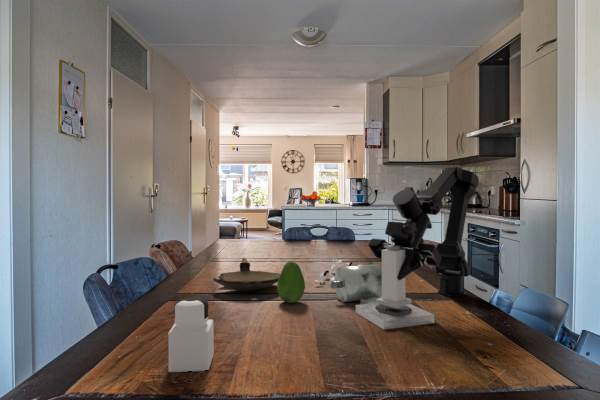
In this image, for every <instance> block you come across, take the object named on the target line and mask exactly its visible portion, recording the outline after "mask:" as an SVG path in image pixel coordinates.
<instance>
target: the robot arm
mask: <svg viewBox="0 0 600 400" xmlns="http://www.w3.org/2000/svg"><path fill="white" fill-rule="evenodd" d="M479 179H480V178H479V176H478V175H477V174H475V172H474V171H470V170H466V169H463V168H462V167H459V166H446V167H444V168H443V169H442V170H441V173H440V174H439V176H437V178H436V179H435V180H434V181H433V182H432V183H431V184H430V185H429V187H427V188H426V189H423V190H421V191H420V190H419V191H418V192H417V193H416V192H415V190H414V187H413V186H405V187H404V189H401V190H400V191H398V192H397V193H396V194H394V195H393V197H392V203H393V204H394V206H395V208H396V210H397V211H398V213H399V214H400V217H402V218H403V219H405V222H401V221H387V224H386V228H385V231H384V234H385V235H386V236H389V237H390V241H391V242H392V243H394V244H393V245H399V246H400V249H403V250H405V261H404V263H403V265H402V267H401V269H400V271H399V274H398V277H397V279H398V280H401V279H403V278H404V277H405V278H406V277H407V276H409V275H410V274H411V273H412V272H414V271H416V270H417V269H419V268H423V267H425V262H426V264H427V265H428V266H432V267H435V272H436V274H440V279H439V290H437V292H438V293H439V294H441V295H442V294H443V295H444V296H445V295H446V297H447V296H448V297H454V298H455V297H461V296H468V294H469V293H467V292H465V277H469V275H470V273H471V272H470V271H471V268H470V265H469V264H468V261H467V260H466V252H465V249H464V247H463V244H462V241H463V236H464V235H463V234H464V229H465V224H466V223H465V222H466V218H467V217H466V216H467V210H468V204H469V201H470V199H471V198H472V197H473V196H475V194H476V191H477V187H478V186H479V183H480V180H479ZM448 192H449V193H450V194H451V196H452V197H451V203H450V209H449V215H448V221H447V226H446V230H445V231H446V232H445V237H444V240H443V241H442V242H441V243H438V244H437V245H435V243H434V244H433V243H424V242H425V240H424V238H423V237H424V235H425V234H426V233H425V232H427V231H426V230H427V229H433V227H432V225H433V224H432V223H431V222H432V221H431V219H430V217H429V215H430V216H432V215H433V216H436V215H438V214H439V213H440V212H441V210H442V207H443V206H444V204H443V199H444V198H445V196H446V194H448ZM387 245H392V244H391V243H389V242H387V241H386V239H382V238H371V239H370V241H369V242H368V245H367V247H369V249H370V250H371V252H372V253H373V255H374V257H375V258H377V259H381V260H382V250H384V249H387Z"/></svg>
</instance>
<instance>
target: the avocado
mask: <svg viewBox="0 0 600 400" xmlns="http://www.w3.org/2000/svg"><path fill="white" fill-rule="evenodd" d="M280 271H281V272H280V273H279V274H280V276H279V279H278V282H277V285H276V286H277V287H276V291H277V295H278V296H279V298H280V299H281V300H282V301H283V302H284V303H287V304H294V303H297V302H299V300H300V299H302V297H303V295H304V293H305V289H306V284H305V278H304V274H303V272H302V269H301V268H300V266H299V265H298V263H296V262H294V261H291V260H290V261H287V262H286V263H285V264H284V265H283V267H282V269H281V270H280Z"/></svg>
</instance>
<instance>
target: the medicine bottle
mask: <svg viewBox="0 0 600 400" xmlns="http://www.w3.org/2000/svg"><path fill="white" fill-rule="evenodd" d="M173 307H174V310H173V311H174V314H173V315H174V318H173V319H174V323H173V325H172V326H171V328H170V330H169V331H168V333H167V371H168V373H184V372H185V373H186V372H188V371H192V372H206V371H205V370H208V371H209V370H210V368H211V364H212V361H213V357H214V354H215V349H214V348H215V347H214V346H215V345H214V344H215V343H214V342H215V340H214V335H215V334H214V332H215V330H214V328H215V327H214V326H215V325H214V319H209V301H208V300H207V299H206V298H203V297H199V296H190V297H184V298H181V299H178V300H177V301H175V303H174V306H173Z"/></svg>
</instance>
